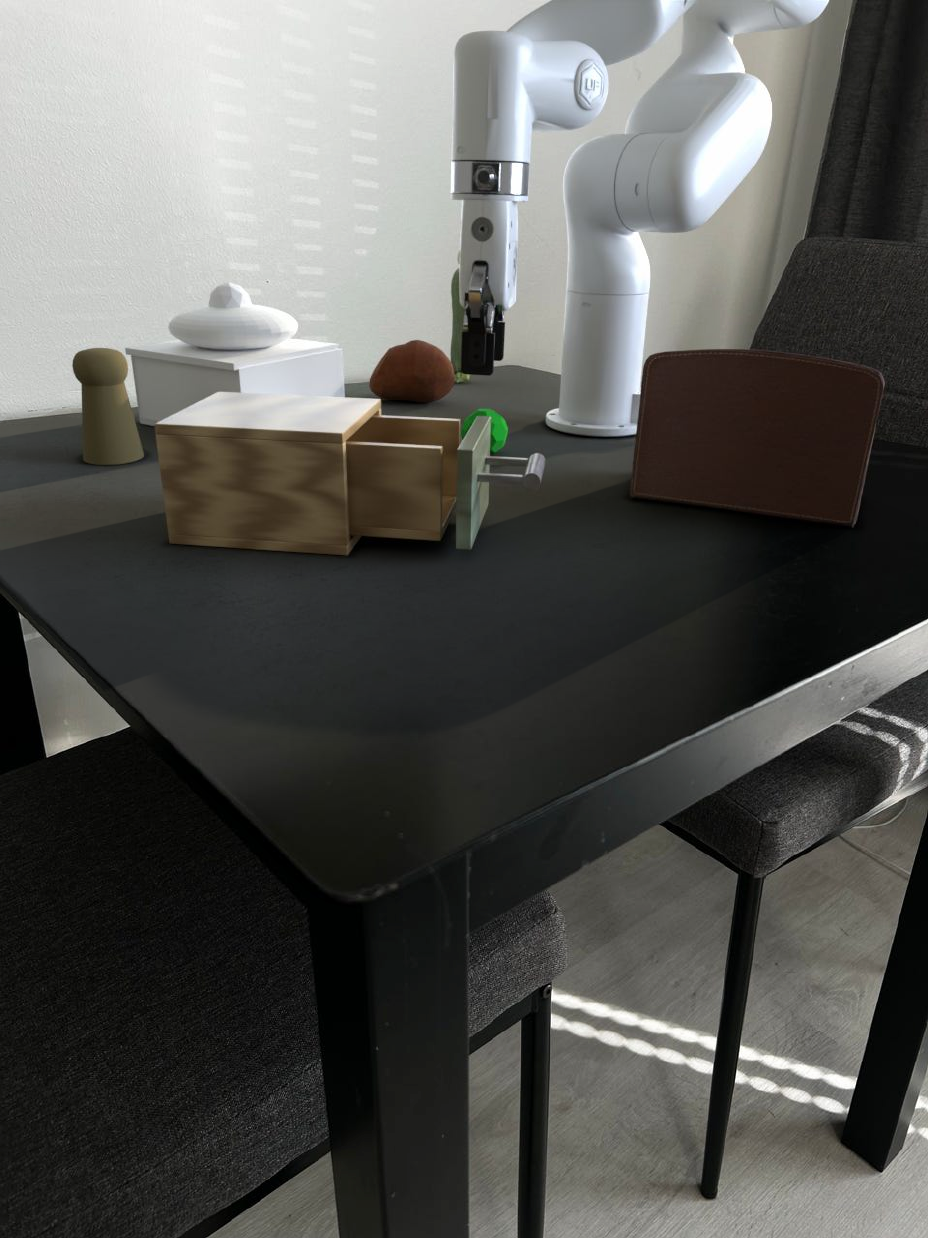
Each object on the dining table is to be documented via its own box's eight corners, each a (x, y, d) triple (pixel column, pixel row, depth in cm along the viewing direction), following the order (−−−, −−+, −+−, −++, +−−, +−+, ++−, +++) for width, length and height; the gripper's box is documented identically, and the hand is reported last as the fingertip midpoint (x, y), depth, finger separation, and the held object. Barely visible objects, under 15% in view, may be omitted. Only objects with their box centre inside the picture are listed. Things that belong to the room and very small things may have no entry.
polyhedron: (454, 450, 100) (454, 406, 98) (494, 446, 102) (496, 403, 100) (472, 461, 96) (473, 416, 94) (514, 457, 98) (516, 413, 96)
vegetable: (449, 378, 139) (450, 236, 130) (477, 378, 139) (480, 236, 130) (451, 384, 135) (452, 237, 126) (480, 384, 135) (483, 238, 126)
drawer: (544, 508, 79) (549, 418, 76) (535, 554, 69) (540, 453, 66) (339, 495, 82) (335, 408, 78) (300, 539, 71) (294, 440, 68)
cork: (125, 466, 92) (108, 354, 88) (71, 462, 93) (52, 351, 89) (154, 451, 98) (141, 345, 93) (103, 448, 99) (87, 343, 94)
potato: (373, 393, 128) (372, 334, 124) (455, 395, 127) (456, 336, 124) (366, 405, 121) (364, 342, 117) (453, 407, 120) (454, 344, 117)
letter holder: (855, 528, 78) (890, 360, 73) (627, 499, 85) (642, 343, 79) (855, 496, 87) (887, 344, 81) (648, 472, 93) (663, 329, 87)
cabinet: (383, 506, 82) (381, 398, 78) (347, 555, 71) (342, 433, 67) (228, 496, 84) (218, 391, 80) (169, 543, 73) (153, 423, 69)
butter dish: (345, 416, 115) (340, 281, 108) (242, 445, 101) (228, 293, 94) (244, 399, 123) (233, 273, 116) (135, 423, 109) (116, 282, 102)
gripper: (521, 182, 79) (511, 382, 86) (535, 187, 95) (525, 356, 102) (436, 180, 80) (433, 378, 87) (463, 185, 96) (459, 353, 103)
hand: (483, 366), depth 95 cm, fingers open, 9 cm apart
